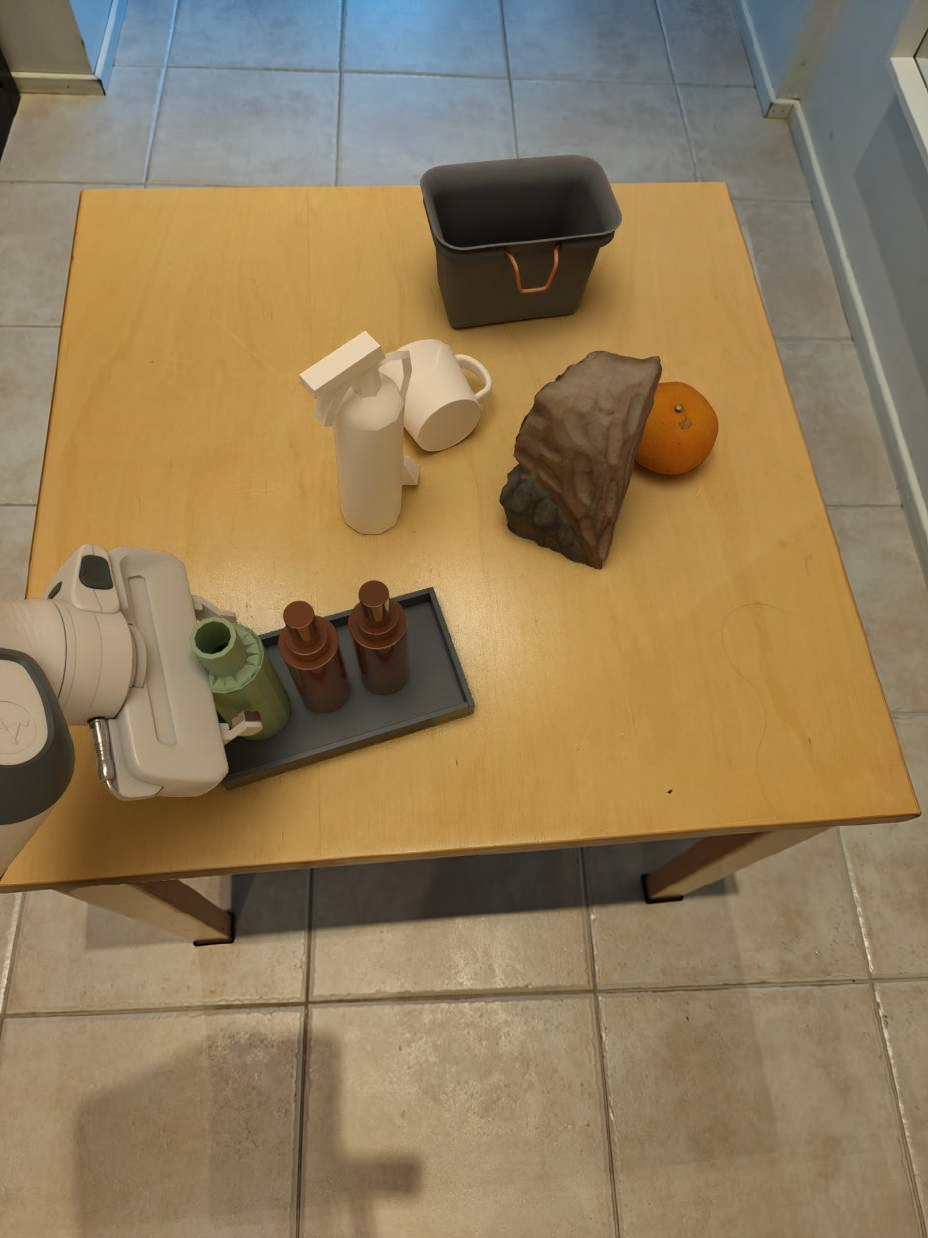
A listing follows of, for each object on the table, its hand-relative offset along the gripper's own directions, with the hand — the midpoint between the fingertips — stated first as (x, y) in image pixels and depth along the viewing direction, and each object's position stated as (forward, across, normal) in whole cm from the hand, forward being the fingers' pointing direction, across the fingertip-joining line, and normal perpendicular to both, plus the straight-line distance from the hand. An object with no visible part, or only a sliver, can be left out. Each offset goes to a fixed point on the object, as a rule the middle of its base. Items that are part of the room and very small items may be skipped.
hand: (245, 672), depth 67 cm
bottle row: (+13, 0, 0) cm, 13 cm away
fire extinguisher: (+19, +19, -5) cm, 27 cm away
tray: (+12, 0, +2) cm, 12 cm away
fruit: (+43, +17, -28) cm, 54 cm away
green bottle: (+6, 0, +7) cm, 9 cm away
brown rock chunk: (+33, +11, -18) cm, 39 cm away
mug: (+26, +29, -12) cm, 41 cm away
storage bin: (+36, +43, -22) cm, 60 cm away
